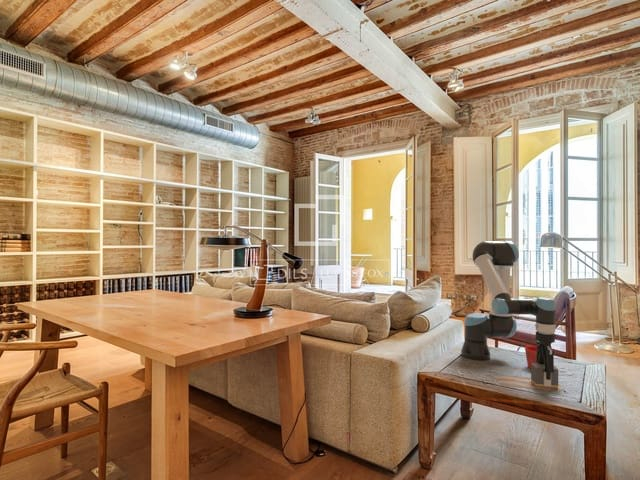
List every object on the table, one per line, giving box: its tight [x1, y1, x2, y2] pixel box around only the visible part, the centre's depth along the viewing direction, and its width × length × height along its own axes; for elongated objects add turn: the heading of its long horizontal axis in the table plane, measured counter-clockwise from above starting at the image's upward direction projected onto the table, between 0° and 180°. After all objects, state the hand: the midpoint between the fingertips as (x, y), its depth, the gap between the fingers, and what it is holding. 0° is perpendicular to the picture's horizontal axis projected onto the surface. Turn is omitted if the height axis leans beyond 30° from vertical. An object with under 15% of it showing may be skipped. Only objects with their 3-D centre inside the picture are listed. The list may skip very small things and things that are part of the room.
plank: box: [493, 374, 567, 394], centre depth 168 cm, size 13×26×1 cm, turn 78°
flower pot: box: [524, 345, 538, 369], centre depth 189 cm, size 11×11×10 cm
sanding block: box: [530, 363, 559, 387], centre depth 167 cm, size 6×9×8 cm, turn 78°
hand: (544, 383), depth 167 cm, fingers closed on sanding block, 6 cm apart
